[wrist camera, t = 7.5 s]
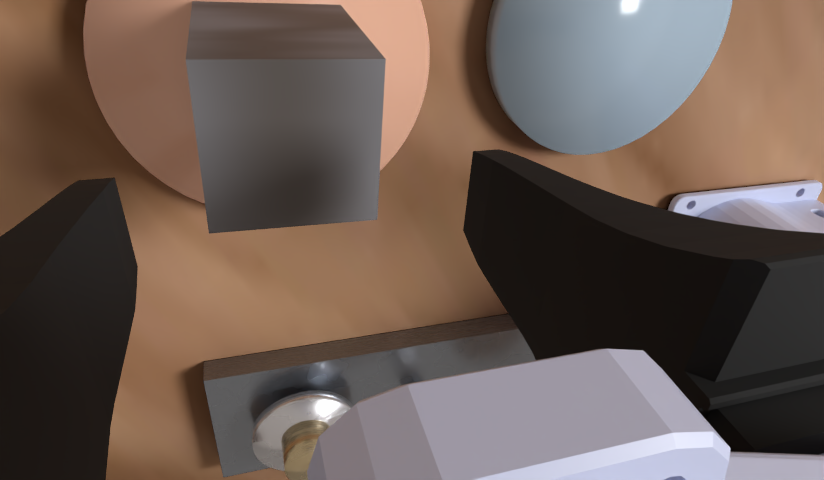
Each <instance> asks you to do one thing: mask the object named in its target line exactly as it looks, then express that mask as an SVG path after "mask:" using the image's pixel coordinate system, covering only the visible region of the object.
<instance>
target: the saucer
mask: <svg viewBox="0 0 824 480" xmlns="http://www.w3.org/2000/svg"><path fill="white" fill-rule="evenodd" d="M731 6H732V0H493V4H492V7H491V10H490V15H489V21H488V26H487V36H486V61H487V69H488V74H489V79H490V83H491V86H492V89H493V92H494V94H495V96H496V98H497V100H498V102H499V104H500V106H501V108H502V109H503V111H504V112H505V113H506V115H507V116H508V117H509V119H510V120H511V121H512V122H513V123H514V124H515V125H516V126H517V127H519V128H520V129H521V130H522V131H523V132H524V133H525V134H526V135H527V136H529V137H530V138H531V139H533V140H534V141H536V142H537V143H538V144H540V145H542V146H544V147H547V148H549V149H551V150H554V151H558V152H561V153H567V154H575V155H583V154H595V153H602V152H605V151H609V150H613V149H616V148H619V147H621V146H624V145H626V144H629V143H631V142H633V141H634V140H636V139H638V138H640V137H642V136H644V135H645V134H647V133H648V132H650V131H651V130H653V129H654V128H656V127H657V126H658V125H659V124H661V123H662V122H663V121H664V120H666V119H667V118H668V117H669V116H670V115H671V114H672V113H673V112H674V111H675V110H676V109H677V108H678V107H680V105H681V104H682V103H683V102H684V101H685V100H686V99H687V97H688V96H689V95H690V94H691V93H692V91H693V90H694V89H695V87H696V86H697V85H698V83H699V82H700V81H701V79H702V77H703V76H704V74H705V73H706V71H707V69H708V68H709V66H710V64H711V62H712V60H713V58H714V56H715V54H716V52H717V50H718V48H719V46H720V43H721V41H722V38H723V36H724V33H725V30H726V26H727V23H728V20H729V16H730V11H731Z"/></svg>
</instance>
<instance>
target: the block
mask: <svg viewBox="0 0 824 480" xmlns="http://www.w3.org/2000/svg"><path fill="white" fill-rule="evenodd" d="M385 63H386V59H385V58H384V56H383V55H382V54H381V53H380V52H379V50H378V49H377V48H376V47H375V46H374V44H373V43H372V42H371V41H370V40H369V38H368V37H367V36H366V35H365V34H364V32H363V31H362V30H361V29H360V28H359V26H358V25H357V24H356V23H355V22H354V20H353V19H352V18H351V17H350V15H349V14H348V13H347V12H346V11H345V9H344V8H343V7H342V6H341V5H332V4H289V3H247V2H205V1H192V8H191V17H190V25H189V34H188V43H187V52H186V66H187V74H188V81H189V89H190V96H191V103H192V111H193V118H194V126H195V133H196V140H197V148H198V155H199V163H200V170H201V177H202V185H203V192H204V200H205V207H206V214H207V222H208V229H209V233H220V232H232V231H244V230H256V229H268V228H281V227H293V226H305V225H317V224H329V223H342V222H354V221H366V220H377V213H378V194H379V176H380V157H381V138H382V119H383V101H384V82H385Z"/></svg>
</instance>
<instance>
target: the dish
mask: <svg viewBox="0 0 824 480" xmlns="http://www.w3.org/2000/svg"><path fill="white" fill-rule="evenodd" d="M192 1H205V2H247V3H289V4H332V5H341V6H342V7H343V8H344V9H345V11H346V12H347V13H348V14H349V15H350V17H351V18H352V19H353V20H354V22H355V23H356V24H357V25H358V26H359V28H360V29H361V30H362V31H363V32H364V34H365V35H366V36H367V37H368V38H369V40H370V41H371V42H372V43H373V44H374V46H375V47H376V48H377V49H378V50H379V52H380V53H381V54H382V55H383V56H384V58H385V59H386V63H385V82H384V101H383V119H382V138H381V157H380V170H381V169H382V168H383V167H384V166H385V165H386V164H387V163H388V162H389V161H390V160H391V159H392V157H393V156H394V155H395V154H396V153H397V151H398V150H399V148H400V147H401V146H402V144H403V143H404V141H405V140H406V138H407V136H408V135H409V133H410V131H411V129H412V127H413V125H414V124H415V121H416V119H417V116H418V114H419V111H420V109H421V106H422V103H423V99H424V95H425V91H426V87H427V81H428V73H429V52H430V46H429V37H428V28H427V23H426V19H425V15H424V10H423V6H422V3H421V0H87V3H86V9H85V18H84V27H83V38H84V56H85V62H86V67H87V73H88V78H89V81H90V84H91V87H92V90H93V93H94V96H95V99H96V101H97V103H98V106H99V108H100V110H101V112H102V114H103V116H104V118H105V120H106V122H107V123H108V125H109V126H110V128H111V129H112V131H113V132H114V134H115V135H116V137H117V138H118V140H119V141H120V142H121V144H122V145H123V146H124V147H125V148H126V150H127V151H128V152H129V153H130V154H131V155H132V157H133V158H134V159H135V160H137V161H138V162H139V163H140V164H141V165H142V166H143V167H144V168H145V169H146V170H147V171H148V172H150V173H151V174H152V175H154V176H155V177H156V178H158V179H159V180H160V181H162V182H163V183H165V184H166V185H167V186H169V187H171V188H173V189H174V190H176V191H178V192H180V193H182V194H183V195H185V196H187V197H190V198H192V199H194V200H197V201H199V202H201V203H204V204H205V200H204V192H203V185H202V177H201V170H200V163H199V155H198V148H197V140H196V133H195V126H194V118H193V111H192V103H191V96H190V89H189V81H188V74H187V66H186V52H187V43H188V34H189V25H190V17H191V8H192Z"/></svg>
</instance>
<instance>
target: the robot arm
mask: <svg viewBox="0 0 824 480" xmlns="http://www.w3.org/2000/svg"><path fill="white" fill-rule="evenodd" d="M821 190H822V184H821V183H820V182H818V181H816V180H808V181H798V182H789V183H779V184H770V185H761V186H751V187H742V188H732V189H723V190H713V191H704V192H695V193H685V194H679V195H677V196H675V197H674V198H673V199H672V201H671V202H670V205H669V208H668V210H664V209H661V208H657V207H654V206H650V205H647V204H643V203H640V202H636V201H633V200H630V199H627V198H624V197H621V196H618V195H615V194H612V193H610V192H607V191H604V190H601V189H599V188H596V187H593V186H591V185H588V184H586V183H583V182H581V181H578V180H576V179H573V178H571V177H569V176H566V175H564V174H561V173H559V172H557V171H554V170H552V169H550V168H547V167H545V166H543V165H540V164H538V163H536V162H533V161H531V160H529V159H526V158H524V157H521V156H518V155H516V154H513V153H510V152H507V151H503V150H486V151H473V157H472V165H471V173H470V181H469V189H468V197H467V205H466V213H465V221H464V230H463V231H464V233H465V235H466V238H467V240H468V243H469V245H470V248H471V250H472V252H473V255H474V257H475V259H476V261H477V264H478V265H479V267H480V269H481V270H482V272H483V274H484V275H485V277H486V279H487V280H488V282H489V283H490V285H491V287H492V288H493V290H494V291H495V293H496V295H497V296H498V298H499V299H500V301H501V302H502V304H503V306H504V307H505V309H506V310H507V312H508V313H509V315H510V317H511V318H512V320H513V321H514V323H515V324H516V326H517V327H518V329H519V331H520V332H521V334H522V335H523V337H524V339H525V341H526V342H527V344H528V346H529V348H530V349H531V351H532V353H533V355H534V357H535V359H536V361H530V362H525V363H519V364H514V365H508V366H503V367H497V368H492V369H486V370H481V371H475V372H470V373H464V374H459V375H453V376H448V377H442V378H437V379H431V380H426V381H420V382H415V383H409V384H404V385H401V386H399V387H396V388H393V389H391V390H388V391H385V392H383V393H380V394H377V395H374V396H372V397H369V398H366V399H364V400H361V401H359V402H358V403H356V404H355V405H354V406H353V407H352V408H351V409H350V410H348V411H347V412H346V413H345V414H344V415H343V416H342V417H340V418H339V419H338V420H337V421H336V422H335V423H334V424H332V425H331V426H330V427H329V428H328V429H327V430H326V431H324V432H323V433H322V434H321V435H320V436H319V437H318V440H317V443H316V446H315V449H314V452H313V455H312V458H311V461H310V464H309V467H308V470H307V476H308V480H824V204H823V203H821V202H819V201H818V200H817V198H818V196H819V194H820V192H821ZM136 289H137V263H136V259H135V255H134V251H133V247H132V243H131V239H130V236H129V232H128V228H127V224H126V220H125V216H124V212H123V208H122V204H121V201H120V197H119V193H118V189H117V185H116V181H115V178H106V179H92V180H79V181H77V182H75V183H73V184H72V185H70V186H69V187H67V188H66V189H64V190H63V191H62V192H60V193H59V194H58V195H56V196H55V197H54V198H52V199H51V200H50V201H48V202H47V203H46V204H44V205H43V206H42V207H41V208H39V209H38V210H37V211H35V212H34V213H32V214H31V215H30V216H28V217H27V218H26V219H24V220H23V221H22V222H20V223H19V224H18V225H16V226H15V227H14V228H12V229H11V230H9V231H8V232H6V233H5V234H4V235H2V236H1V237H0V480H105V479H106V467H107V457H108V446H109V436H110V426H111V420H112V414H113V408H114V403H115V398H116V394H117V389H118V385H119V380H120V376H121V371H122V367H123V363H124V358H125V354H126V349H127V345H128V340H129V336H130V331H131V326H132V322H133V317H134V312H135V304H136Z"/></svg>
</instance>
